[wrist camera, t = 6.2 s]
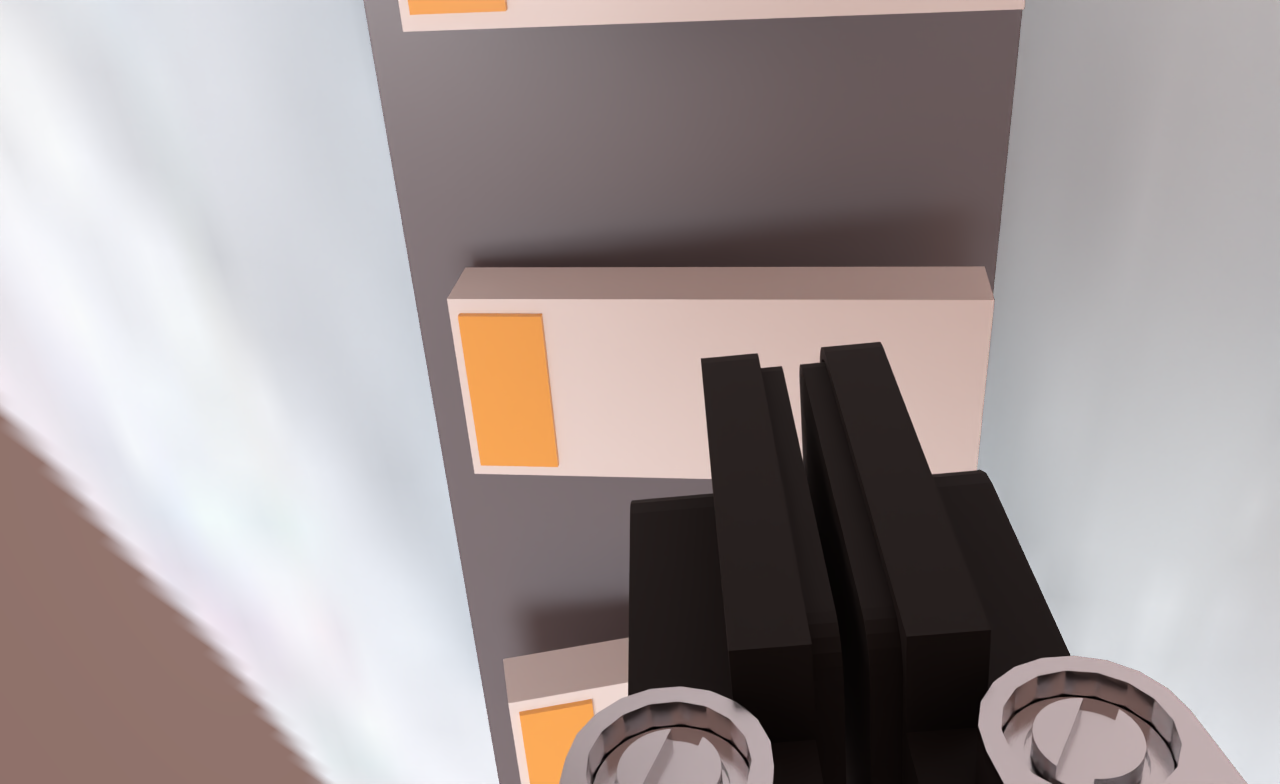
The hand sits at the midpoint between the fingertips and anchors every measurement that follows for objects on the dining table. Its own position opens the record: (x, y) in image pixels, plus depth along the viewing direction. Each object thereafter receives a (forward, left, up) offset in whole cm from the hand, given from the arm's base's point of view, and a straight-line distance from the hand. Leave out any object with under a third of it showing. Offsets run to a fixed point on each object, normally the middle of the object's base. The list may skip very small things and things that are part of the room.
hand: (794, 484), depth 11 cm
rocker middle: (0, +5, -11) cm, 12 cm away
